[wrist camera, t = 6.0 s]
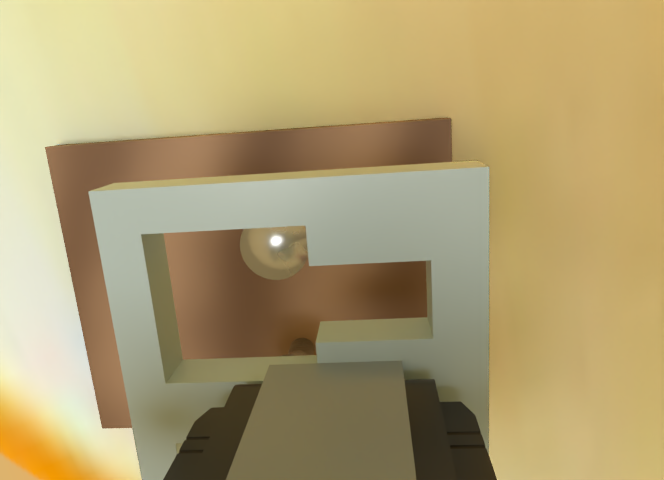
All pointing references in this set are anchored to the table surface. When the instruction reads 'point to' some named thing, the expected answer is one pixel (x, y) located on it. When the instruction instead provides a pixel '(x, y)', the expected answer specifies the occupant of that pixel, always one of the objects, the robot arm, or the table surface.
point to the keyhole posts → (277, 262)
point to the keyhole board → (235, 244)
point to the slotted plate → (333, 336)
